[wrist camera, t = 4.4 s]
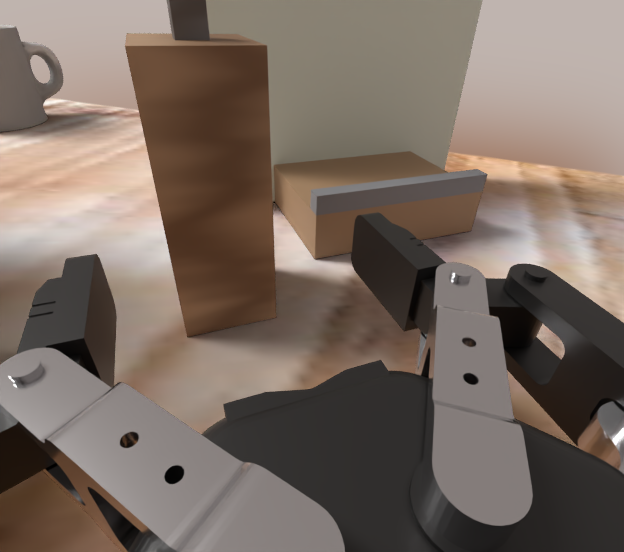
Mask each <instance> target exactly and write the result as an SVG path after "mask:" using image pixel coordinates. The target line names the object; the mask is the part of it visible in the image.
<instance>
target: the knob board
mask: <svg viewBox="0 0 624 552" xmlns="http://www.w3.org/2000/svg"><path fill="white" fill-rule="evenodd" d="M167 4H168V11H169V18H170V24H171V31H172V34H129V33H127V35H126V43H125V47H126V53H127V57H128V62H129V67H130V71H131V76H132V81H133V85H134V90H135V94H136V99H137V104H138V109H139V113H140V118H141V123H142V127H143V132H144V137H145V141H146V146H147V151H148V155H149V160H150V165H151V169H152V174H153V179H154V183H155V188H156V193H157V197H158V202H159V207H160V211H161V216H162V221H163V225H164V230H165V235H166V239H167V244H168V249H169V253H170V258H171V263H172V267H173V272H174V277H175V281H176V286H177V291H178V296H179V300H180V305H181V310H182V314H183V319H184V324H185V328H186V333H187V337H190V336H194V335H199V334H203V333H208V332H212V331H217V330H221V329H226V328H231V327H235V326H240V325H244V324H249V323H253V322H258V321H262V320H267V319H271V318H276V290H275V260H274V231H273V201H272V172H271V142H270V113H269V83H268V54H267V45H265V44H262V43H260V42H257V41H254V40H252V39H249V38H246V37H243V36H241V35H238V34H209V26H208V16H207V7H206V0H167Z"/></svg>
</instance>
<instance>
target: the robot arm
mask: <svg viewBox="0 0 624 552" xmlns="http://www.w3.org/2000/svg"><path fill="white" fill-rule="evenodd" d="M351 259H352V264H353V267H354V270H355V271H356V273H357V274H358V275H359V276H360V278H361V279H362V280H363V281H364V283H365V284H366V285H367V286H368V288H369V289H370V290H371V291H372V292H373V294H374V295H375V296H376V297H377V299H378V300H379V301H380V302H381V304H382V305H383V306H384V307H385V309H386V310H387V311H388V312H389V313H390V315H391V316H392V317H393V318H394V320H395V321H396V322H397V323H398V325H399V326H400V327H401V328H402V329H403V331H408V330H412V329H415V328H419V329H420V330H421V332H420V336H419V341H418V351H417V360H416V370H415V374H413V373H408V372H402V371H388V370H387V368H386V367H385V365H384V364H383V362H382V361H381V360H379V361H375V362H372V363H368V364H364V365H361V366H357V367H354V368H350V369H347V370H344V371H343V372H341V373H339V374H337V375H336V376H334V377H332V378H330V379H329V380H327V381H325V382H323V383H321V384H320V385H318V386H316V387H314V388H312V389H307V390H292V391H276V392H265V393H261V394H258V395H254V396H251V397H247V398H243V399H240V400H236V401H233V402H229V403H226V404H224V410H225V416H226V418H224V419H222V420H220V421H218V422H217V423H215V424H214V425H213V426H211V427H210V428H208V429H207V430H206V431H205V432H204V433H203V434H199V433H198V432H197V431H195V430H194V429H192V428H191V427H189V426H188V425H186V424H185V423H183V422H182V421H180V420H179V419H177V418H176V417H175V416H173V415H172V414H170V413H169V412H167V411H166V410H164V409H163V408H161V407H160V406H158V405H157V404H155V403H154V402H152V401H151V400H150V399H148V398H147V397H145V396H144V395H142V394H141V393H139V392H138V391H136V390H135V389H133V388H132V387H130V386H129V385H127V384H125V383H122V382H119V383H117V384H116V385H115V386H114V365H115V340H116V309H115V304H114V300H113V297H112V294H111V291H110V288H109V285H108V282H107V279H106V276H105V273H104V270H103V267H102V264H101V261H100V259H99V257H98V255H97V254H94V255H87V256H80V257H74V258H67V259H66V261H65V265H64V269H63V274H62V277H61V278H55V279H49V280H47V281H46V282H45V284H44V285H43V286H42V287H41V288H40V289H39V290H38V291H37V292H36V294H35V297H34V300H33V303H32V308H31V310H30V313H29V319H27V322H26V326H25V329H24V332H23V335H22V338H21V342H20V345H19V348H18V351H17V354H16V355H14V356H13V357H11V358H9V359H7V360H6V361H4V362H3V363H2V364H0V494H1V493H2V492H4V491H6V490H8V489H10V488H11V487H13V486H15V485H17V484H19V483H20V482H22V481H24V480H26V479H28V478H29V477H31V476H33V475H35V474H37V473H38V472H40V471H43V472H44V473H45V474H46V475H48V476H49V477H50V478H51V479H52V480H53V481H54V482H55V483H56V484H57V485H58V486H59V487H60V488H61V489H62V490H63V491H64V492H65V493H66V494H67V495H68V496H69V497H71V498H72V499H73V500H74V501H75V502H76V503H77V504H78V505H79V506H80V507H81V508H82V509H83V510H84V511H85V512H86V513H87V514H88V515H89V516H90V517H91V518H92V519H93V520H94V521H95V522H96V524H97V525H98V526H99V527H100V528H101V530H102V531H103V532H104V533H105V534H106V536H107V537H108V538H109V539H110V540H111V541H112V542H113V543H114V544H115V545H116V546H117V547H118V548H119V549H120V550H121V551H122V552H624V323H623V322H621V321H620V320H619V319H617V318H616V317H614V316H613V315H612V314H610V313H609V312H607V311H606V310H605V309H603V308H602V307H600V306H599V305H598V304H596V303H595V302H593V301H592V300H591V299H589V298H588V297H586V296H585V295H584V294H582V293H581V292H579V291H578V290H577V289H575V288H574V287H572V286H571V285H570V284H568V283H567V282H565V281H564V280H562V279H561V278H560V277H558V276H557V275H555V274H554V273H553V272H551V271H549V270H547V269H545V268H543V267H540V266H536V265H532V264H517V265H514V266H512V267H511V268H510V270H509V273H508V275H507V278H506V279H488V278H485V277H484V275H483V274H482V273H481V272H480V271H478V270H477V269H475V268H473V267H471V266H469V265H466V264H462V263H446V262H445V261H443V260H442V259H441V258H440V257H439V256H438V255H436V254H435V253H434V252H433V251H432V250H431V249H429V248H428V247H427V246H426V245H424V244H423V243H422V242H421V241H420V240H419V239H416V237H415V236H414V235H413V234H412V233H411V232H409V231H408V230H407V229H405V228H402V227H400V226H398V225H396V224H392V223H391V222H390V221H389V220H388V219H387V218H385V217H384V216H383V215H382V214H381V213H379V212H376V213H369V214H363V215H358V216H357V217H356V219H355V223H354V233H353V243H352V253H351ZM542 323H543V324H544V325H545V326H547V327H548V328H549V329H550V330H551V331H552V332H553V333H555V334H556V335H557V336H558V337H559V338H560V339H561V340H562V342H563V344H564V347H565V354H564V357H563V358H562V360H561V359H560V358H558V357H557V356H556V355H555V354H554V353H553V352H552V351H551V350H550V349H549V348H548V347H546V346H545V345H544V344H543V343H542V342H541V341H540V340H539V339H538V338H537V337H536V336H537V334H538V332H539V330H540V327H541V325H542ZM507 370H508V371H509V372H510V373H511V374H512V375H513V377H514V378H515V379H516V380H517V381H518V382H519V383H520V384H521V385H522V386H523V387H524V389H525V390H526V391H527V392H528V393H529V394H530V395H531V396H532V397H533V398H534V399H535V401H536V402H537V403H538V404H539V405H540V406H541V407H542V408H543V409H544V410H545V411H546V413H547V414H548V415H549V416H550V417H551V418H552V419H553V420H554V421H555V422H556V423H557V425H558V426H559V427H560V428H561V429H562V430H563V431H564V432H565V433H566V434H567V435H568V436H569V438H570V439H571V440H572V441H573V442H574V443H575V444H576V445H577V446H578V448H577V447H575V446H573V445H571V444H568V443H566V442H564V441H562V440H560V439H558V438H556V437H553V436H551V435H549V434H547V433H545V432H543V431H541V430H538V429H536V428H534V427H532V426H530V425H528V424H525V423H523V422H521V421H519V420H517V419H515V418H514V416H513V410H512V403H511V396H510V389H509V382H508V375H507Z"/></svg>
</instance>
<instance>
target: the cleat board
mask: <svg viewBox="0 0 624 552" xmlns="http://www.w3.org/2000/svg"><path fill="white" fill-rule="evenodd" d="M481 4H482V0H206V7H207V16H208V26H209V34H238V35H241V36H243V37H246V38H249V39H252V40H254V41H257V42H260V43H262V44H265V45H267V54H268V83H269V113H270V142H271V172H272V201H273V202H275V203H276V204H277V205H278V207H279V208H280V210H281V211H282V213H283V214H284V215H285V217H286V218H287V220H288V221H289V223H290V224H291V226H292V227H293V228H294V230H295V231H296V233H297V234H298V236H299V237H300V239H301V240H302V241H303V243H304V244H305V246H306V247H307V249H308V250H309V252H310V253H311V254H312V256H313V257H314V259H318V258H323V257H329V256H335V255H340V254H346V253H351V252H352V243H353V233H354V223H355V219H356V217H357V216H358V215H363V214H369V213H376V212H379V213H381V214H382V215H383V216H384V217H385V218H387V219H388V220H389V221H390V222H391V223H392V224H396V225H398V226H400V227H402V228H405V229H407V230H408V231H409V232H411V233H412V234H413V235H414V236H415V237H416V239H419V240H423V239H429V238H434V237H440V236H445V235H451V234H457V233H462V232H468V231H471V229H472V226H473V222H474V219H475V215H476V212H477V208H478V205H479V202H480V198H481V195H482V191H483V188H484V184H485V181H486V178H487V174H486V173H484V172H482V171H480V170H478V169H474V170H466V171H458V172H450V173H448V172H447V171H445V170H444V169H445V165H446V160H447V156H448V151H449V147H450V142H451V137H452V133H453V129H454V124H455V120H456V116H457V111H458V107H459V102H460V98H461V93H462V89H463V84H464V80H465V76H466V71H467V67H468V62H469V58H470V53H471V49H472V44H473V40H474V35H475V31H476V27H477V22H478V17H479V13H480V9H481Z"/></svg>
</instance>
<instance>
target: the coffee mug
mask: <svg viewBox="0 0 624 552" xmlns="http://www.w3.org/2000/svg"><path fill="white" fill-rule="evenodd" d="M32 55H38V56H40V57H41V58H43V59H44V60H45V62H46V63H47V65H48V67H49V70H50V80H49V82H48V83H45V84H43V83H40V82H39V81H38V80H37V79H36V78H35V76H34V74H33V72H32V69H31V65H30V59H31V57H32ZM62 85H63V73H62V69H61V66H60V63H59V61H58V59H57V57H56V56H55V54H54V53H53V52H52V51H51V50H50V49H49V48H48V47H46V46H44V45H42V44H38V43H34V42H21V40H20V37H19V34H18V31H17V28H16V27H15V26H10V25H0V132H6V131H13V130H20V129H24V128H29V127H33V126H36V125H39V124H42V123H43V122H45V121H46V120H47V119H48V118H47V115H46V113H45V111H44V108H43V103H44V102H45V100H46V99H48V98H49V97H51V96H53V95H54V94H56V93H57V92H58V91H59V90H60V89H61V87H62Z"/></svg>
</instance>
